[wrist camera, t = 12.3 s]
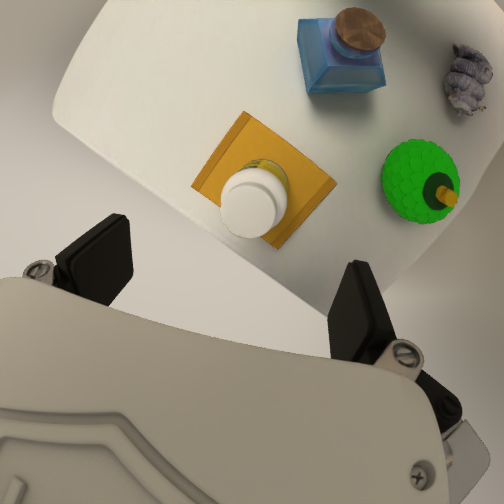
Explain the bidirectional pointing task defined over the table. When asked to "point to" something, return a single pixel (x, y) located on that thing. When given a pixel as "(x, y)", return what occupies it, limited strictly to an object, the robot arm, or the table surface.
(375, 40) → the perfume bottle
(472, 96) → the seashell
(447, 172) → the ornament
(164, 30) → the table surface
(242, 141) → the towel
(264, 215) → the supplement bottle
